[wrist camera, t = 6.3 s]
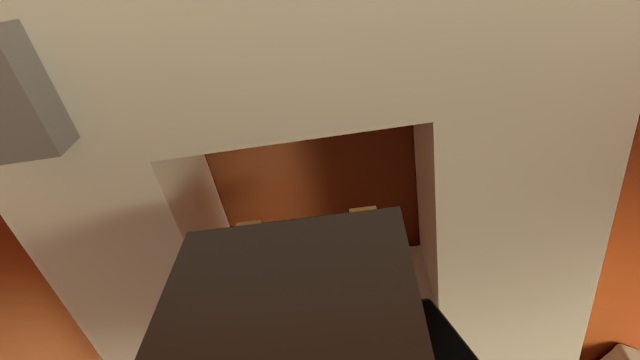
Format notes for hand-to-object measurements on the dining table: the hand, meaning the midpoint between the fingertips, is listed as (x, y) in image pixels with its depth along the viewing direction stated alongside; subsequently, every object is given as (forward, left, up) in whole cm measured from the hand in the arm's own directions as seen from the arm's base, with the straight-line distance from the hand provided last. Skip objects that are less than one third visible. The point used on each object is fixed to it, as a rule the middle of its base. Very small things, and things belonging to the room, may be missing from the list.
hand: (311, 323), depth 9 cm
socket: (0, 0, -5) cm, 5 cm away
